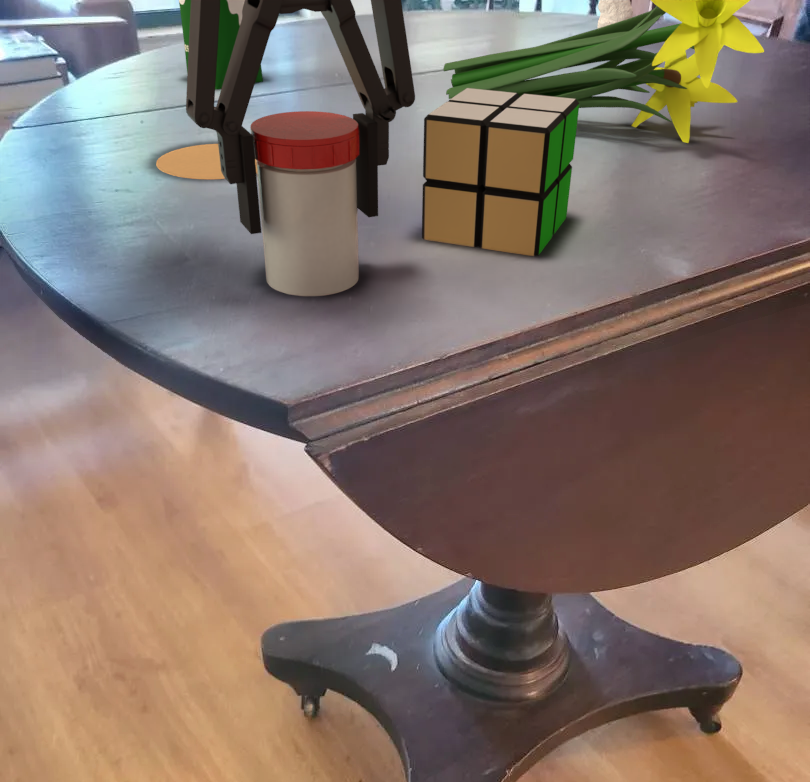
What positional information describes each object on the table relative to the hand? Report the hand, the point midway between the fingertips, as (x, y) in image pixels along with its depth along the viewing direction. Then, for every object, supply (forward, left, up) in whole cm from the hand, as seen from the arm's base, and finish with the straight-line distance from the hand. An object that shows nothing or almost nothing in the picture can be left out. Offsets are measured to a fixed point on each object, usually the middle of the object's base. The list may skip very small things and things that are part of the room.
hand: (309, 218), depth 68 cm
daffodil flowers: (+17, +46, -5) cm, 49 cm away
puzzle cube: (+12, +14, -5) cm, 19 cm away
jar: (0, 0, -5) cm, 5 cm away
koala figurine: (+17, +97, -5) cm, 99 cm away
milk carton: (-30, +59, -5) cm, 66 cm away
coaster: (-18, +26, -5) cm, 32 cm away
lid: (0, 0, +6) cm, 6 cm away
